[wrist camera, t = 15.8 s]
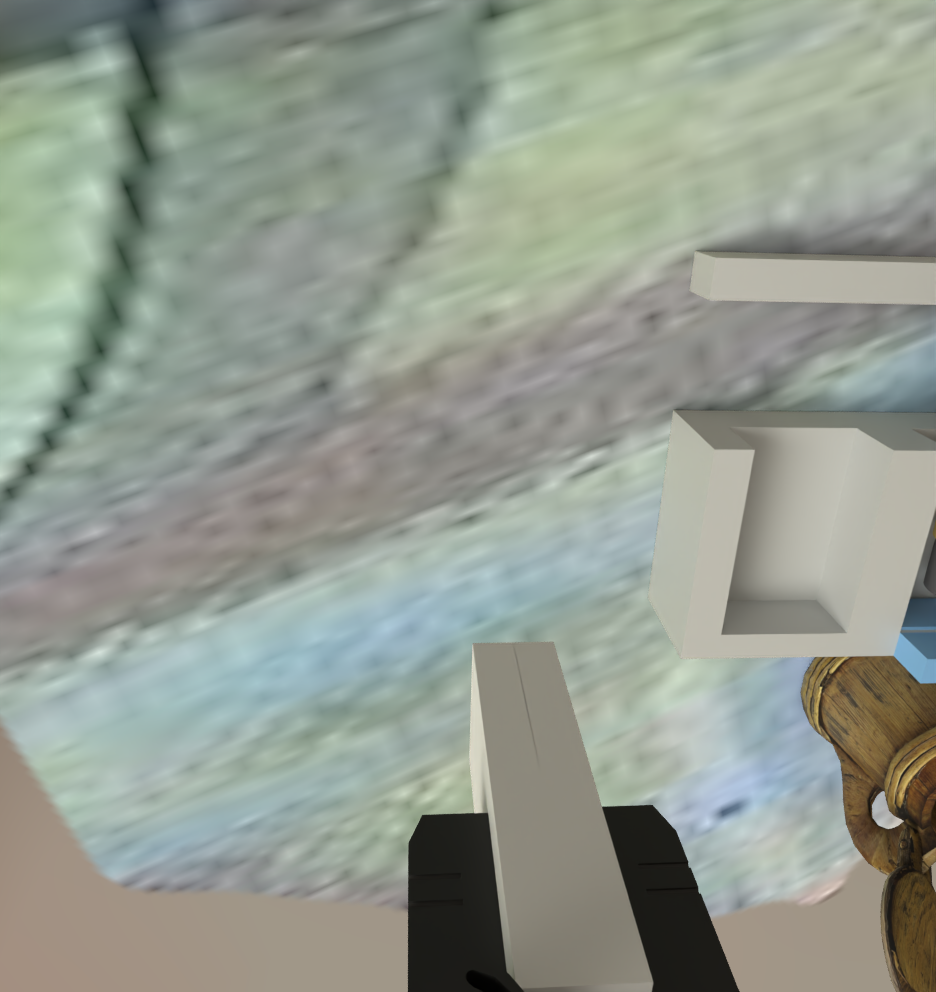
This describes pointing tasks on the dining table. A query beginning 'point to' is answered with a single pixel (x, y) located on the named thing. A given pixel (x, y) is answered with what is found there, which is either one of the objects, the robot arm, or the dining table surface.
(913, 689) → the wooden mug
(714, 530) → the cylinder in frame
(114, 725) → the dining table surface
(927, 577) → the rod
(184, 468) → the dining table surface
